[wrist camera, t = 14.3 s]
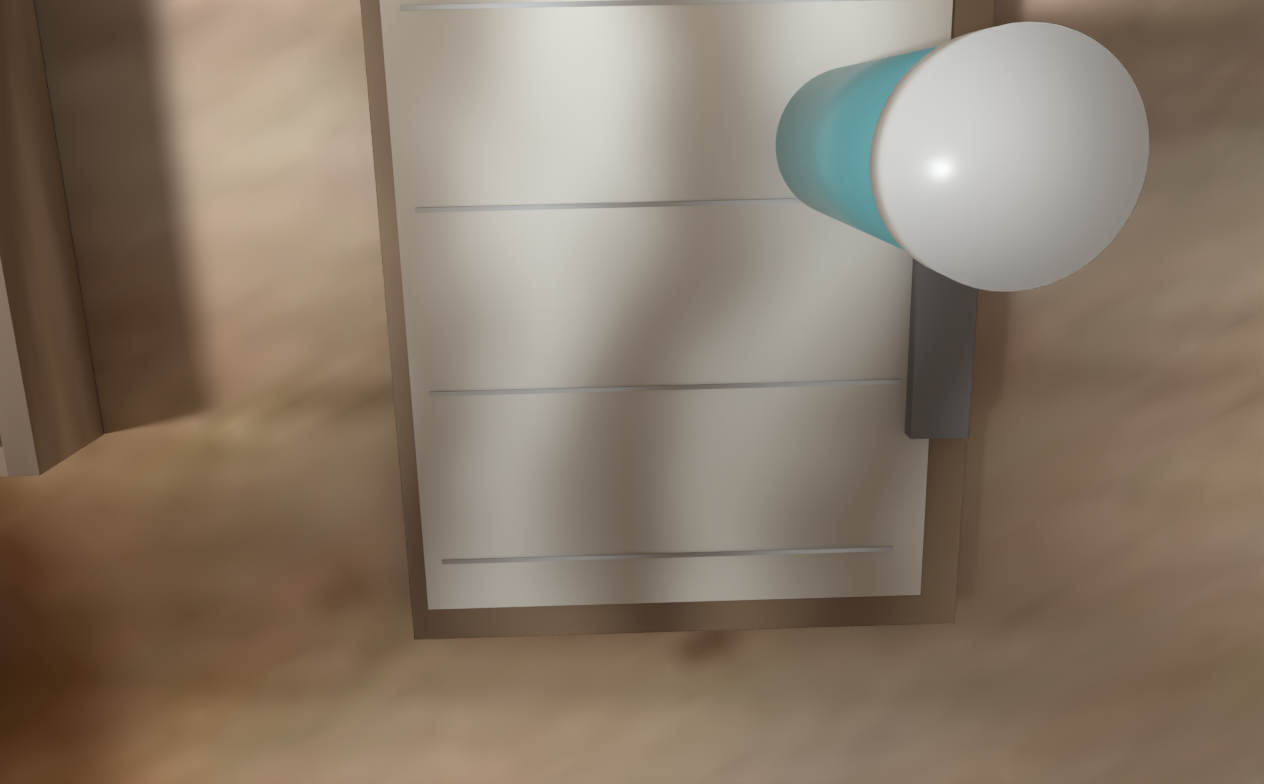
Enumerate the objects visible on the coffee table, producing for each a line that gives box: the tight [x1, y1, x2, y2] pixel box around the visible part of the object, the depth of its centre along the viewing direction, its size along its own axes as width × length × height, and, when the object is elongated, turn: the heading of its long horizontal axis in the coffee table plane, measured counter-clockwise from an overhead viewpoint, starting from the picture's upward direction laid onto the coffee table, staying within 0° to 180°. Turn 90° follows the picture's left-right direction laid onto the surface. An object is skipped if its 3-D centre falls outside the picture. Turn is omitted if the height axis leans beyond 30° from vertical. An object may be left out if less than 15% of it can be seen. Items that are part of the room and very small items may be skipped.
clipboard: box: [360, 0, 995, 639], centre depth 28 cm, size 16×20×2 cm
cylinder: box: [776, 22, 1150, 292], centre depth 21 cm, size 4×4×12 cm
